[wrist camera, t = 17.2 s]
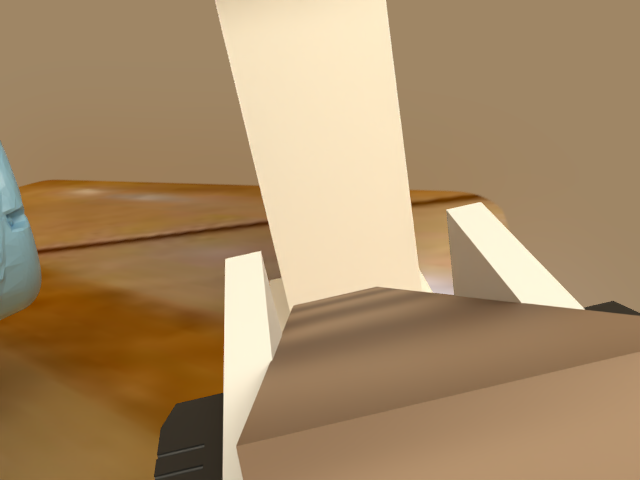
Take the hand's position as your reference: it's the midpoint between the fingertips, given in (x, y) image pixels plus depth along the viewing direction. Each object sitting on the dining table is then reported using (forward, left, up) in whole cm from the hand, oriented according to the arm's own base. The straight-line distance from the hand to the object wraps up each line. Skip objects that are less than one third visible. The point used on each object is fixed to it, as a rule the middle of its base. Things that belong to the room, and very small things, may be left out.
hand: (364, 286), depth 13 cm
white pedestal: (-7, +27, -20) cm, 35 cm away
